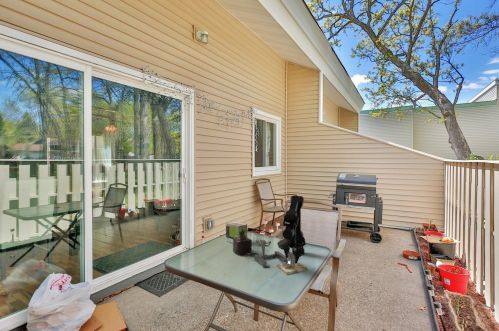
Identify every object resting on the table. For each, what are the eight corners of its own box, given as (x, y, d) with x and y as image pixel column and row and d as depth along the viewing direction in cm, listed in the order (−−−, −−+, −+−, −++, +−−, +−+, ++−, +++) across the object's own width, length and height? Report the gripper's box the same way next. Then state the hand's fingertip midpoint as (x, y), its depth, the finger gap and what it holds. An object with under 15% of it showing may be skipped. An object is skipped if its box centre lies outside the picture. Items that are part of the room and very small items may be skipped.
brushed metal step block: (292, 264, 153) (291, 251, 152) (294, 266, 150) (294, 253, 150) (282, 266, 150) (281, 253, 150) (284, 268, 147) (284, 255, 147)
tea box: (247, 242, 199) (247, 223, 199) (238, 245, 192) (238, 226, 191) (234, 238, 209) (234, 220, 209) (225, 241, 202) (225, 223, 202)
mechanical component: (270, 256, 170) (270, 241, 169) (255, 255, 172) (255, 240, 172) (271, 254, 173) (271, 240, 172) (256, 253, 175) (256, 239, 174)
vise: (277, 256, 170) (277, 250, 170) (287, 262, 159) (287, 257, 159) (254, 260, 163) (254, 255, 163) (263, 267, 152) (263, 261, 152)
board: (295, 262, 159) (295, 260, 159) (307, 269, 148) (307, 267, 148) (275, 266, 153) (275, 264, 153) (286, 274, 142) (286, 272, 142)
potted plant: (231, 251, 180) (231, 226, 180) (245, 248, 185) (245, 224, 185) (240, 258, 166) (240, 231, 166) (255, 255, 171) (255, 229, 171)
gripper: (271, 232, 155) (271, 257, 156) (288, 240, 138) (288, 269, 139) (286, 230, 160) (287, 254, 160) (304, 238, 143) (305, 265, 143)
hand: (291, 260), depth 151 cm, fingers open, 9 cm apart
